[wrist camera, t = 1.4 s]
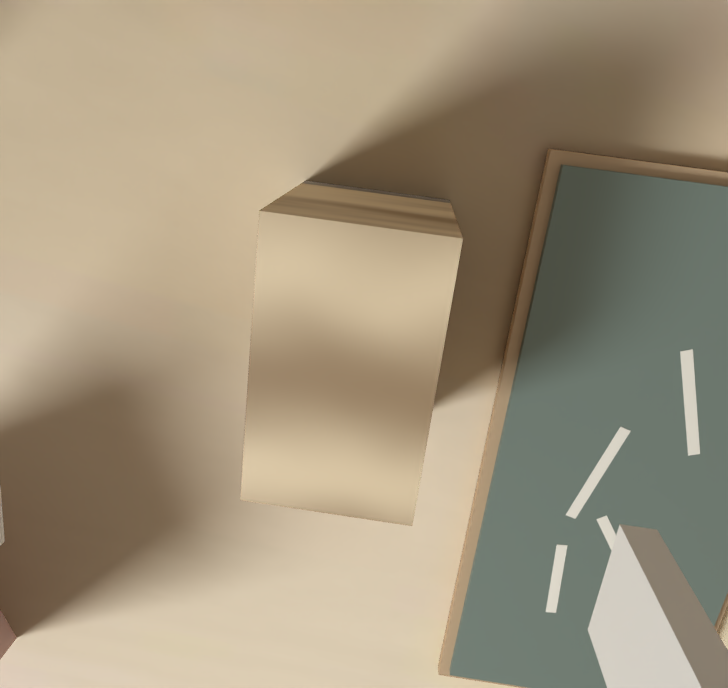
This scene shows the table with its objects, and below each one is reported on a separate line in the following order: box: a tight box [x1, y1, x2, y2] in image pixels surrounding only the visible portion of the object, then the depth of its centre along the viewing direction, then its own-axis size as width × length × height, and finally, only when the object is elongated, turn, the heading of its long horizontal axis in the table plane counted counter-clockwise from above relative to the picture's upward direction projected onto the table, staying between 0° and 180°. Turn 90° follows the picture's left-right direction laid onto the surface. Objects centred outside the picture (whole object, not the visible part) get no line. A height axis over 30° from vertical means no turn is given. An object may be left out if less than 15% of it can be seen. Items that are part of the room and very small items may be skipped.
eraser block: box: [240, 181, 463, 526], centre depth 25 cm, size 10×6×8 cm, turn 173°
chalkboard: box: [438, 149, 728, 688], centre depth 30 cm, size 27×13×1 cm, turn 173°
